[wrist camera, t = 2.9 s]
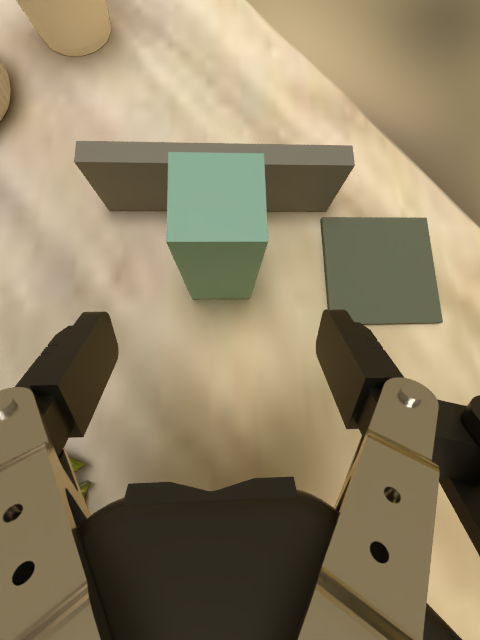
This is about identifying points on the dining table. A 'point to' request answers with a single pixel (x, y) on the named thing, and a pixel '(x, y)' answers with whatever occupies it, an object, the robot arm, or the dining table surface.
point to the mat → (380, 270)
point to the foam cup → (70, 24)
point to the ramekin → (4, 91)
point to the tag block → (217, 221)
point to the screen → (152, 157)
